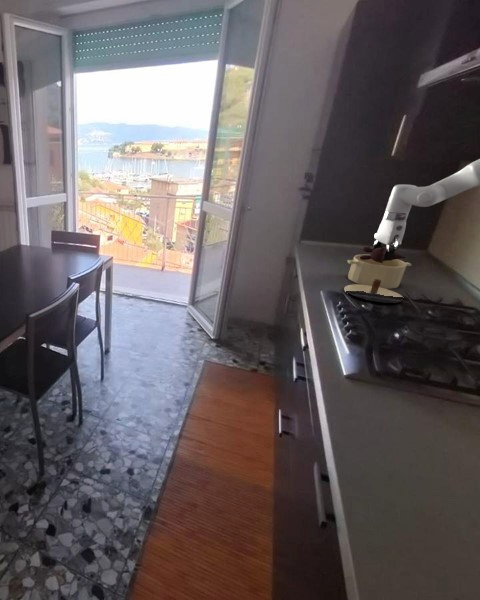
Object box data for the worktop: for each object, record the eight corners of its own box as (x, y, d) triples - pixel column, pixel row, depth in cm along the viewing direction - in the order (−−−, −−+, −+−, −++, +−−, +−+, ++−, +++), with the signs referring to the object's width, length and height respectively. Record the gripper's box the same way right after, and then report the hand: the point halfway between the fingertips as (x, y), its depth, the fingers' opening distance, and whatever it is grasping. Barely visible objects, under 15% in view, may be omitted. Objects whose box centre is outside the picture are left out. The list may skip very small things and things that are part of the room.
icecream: (408, 249, 149) (364, 245, 159) (407, 248, 144) (361, 244, 154) (403, 265, 150) (360, 261, 161) (402, 265, 145) (357, 260, 155)
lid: (414, 307, 133) (421, 290, 130) (358, 303, 136) (363, 287, 133) (384, 288, 150) (390, 273, 147) (335, 285, 153) (339, 270, 150)
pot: (416, 290, 147) (425, 268, 143) (353, 286, 151) (360, 265, 147) (390, 275, 163) (397, 255, 159) (334, 272, 167) (339, 253, 163)
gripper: (420, 220, 137) (403, 264, 144) (392, 212, 153) (379, 251, 160) (398, 220, 138) (382, 263, 146) (373, 212, 154) (360, 251, 161)
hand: (381, 257), depth 153 cm, fingers closed on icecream, 7 cm apart
